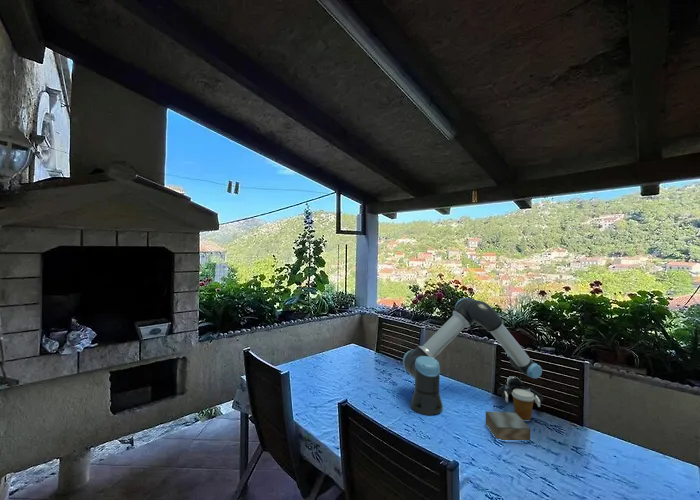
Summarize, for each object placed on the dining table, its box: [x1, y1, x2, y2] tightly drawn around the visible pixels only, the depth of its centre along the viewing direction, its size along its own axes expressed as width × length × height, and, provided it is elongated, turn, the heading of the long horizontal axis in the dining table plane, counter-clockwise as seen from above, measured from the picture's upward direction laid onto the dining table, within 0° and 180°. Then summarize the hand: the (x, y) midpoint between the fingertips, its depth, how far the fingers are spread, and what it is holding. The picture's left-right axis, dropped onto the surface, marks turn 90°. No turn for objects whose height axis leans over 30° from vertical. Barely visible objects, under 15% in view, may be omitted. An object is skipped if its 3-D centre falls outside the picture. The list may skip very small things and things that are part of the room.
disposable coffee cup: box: [511, 389, 535, 420], centre depth 151 cm, size 10×10×12 cm
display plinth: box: [485, 410, 531, 441], centre depth 138 cm, size 13×13×6 cm
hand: (523, 401), depth 154 cm, fingers open, 13 cm apart
